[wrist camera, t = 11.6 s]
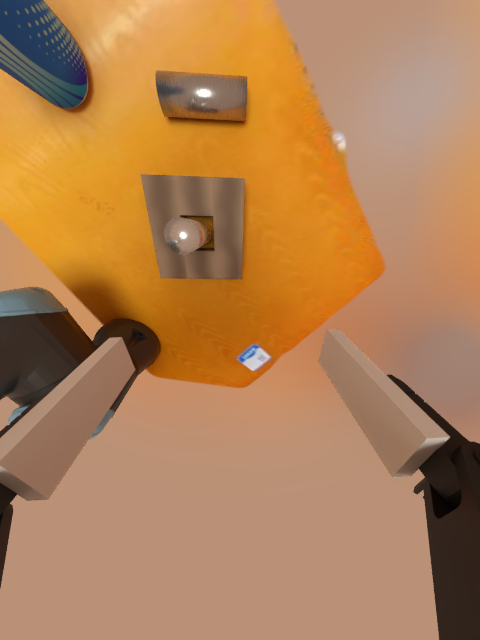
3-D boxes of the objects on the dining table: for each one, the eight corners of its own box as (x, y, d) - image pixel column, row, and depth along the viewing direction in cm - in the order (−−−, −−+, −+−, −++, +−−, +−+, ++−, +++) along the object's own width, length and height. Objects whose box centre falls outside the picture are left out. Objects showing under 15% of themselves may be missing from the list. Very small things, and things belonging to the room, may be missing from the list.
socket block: (168, 272, 38) (160, 278, 34) (152, 181, 31) (140, 174, 27) (240, 273, 39) (241, 279, 35) (243, 184, 31) (244, 178, 27)
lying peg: (154, 82, 22) (157, 62, 23) (165, 123, 26) (168, 105, 27) (247, 88, 23) (246, 68, 24) (245, 128, 27) (244, 110, 28)
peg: (193, 243, 36) (167, 254, 21) (190, 221, 34) (161, 216, 20) (212, 243, 36) (200, 254, 22) (211, 221, 34) (196, 217, 20)
